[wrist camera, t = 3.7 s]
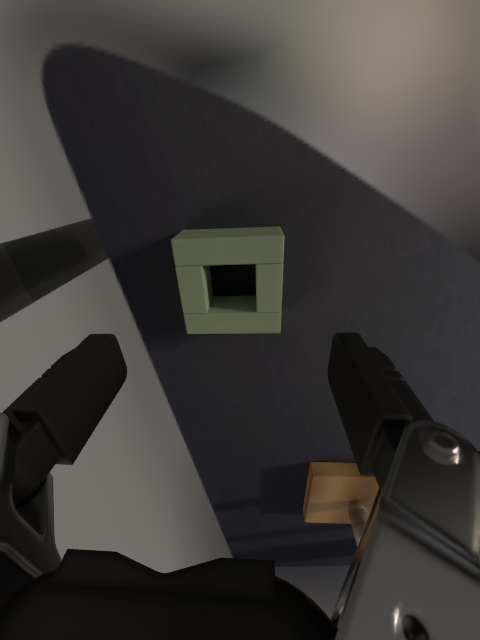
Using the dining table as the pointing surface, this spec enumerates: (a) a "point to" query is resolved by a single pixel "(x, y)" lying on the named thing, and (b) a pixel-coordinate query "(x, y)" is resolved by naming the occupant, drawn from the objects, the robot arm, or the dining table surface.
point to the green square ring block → (230, 249)
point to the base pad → (339, 495)
